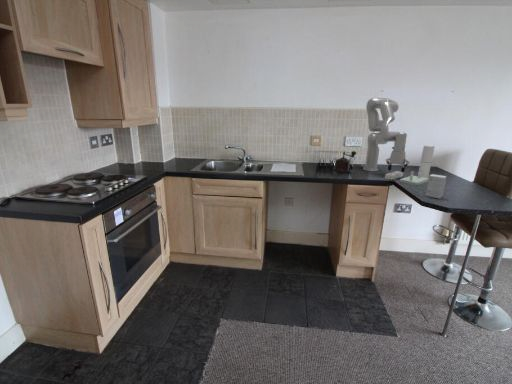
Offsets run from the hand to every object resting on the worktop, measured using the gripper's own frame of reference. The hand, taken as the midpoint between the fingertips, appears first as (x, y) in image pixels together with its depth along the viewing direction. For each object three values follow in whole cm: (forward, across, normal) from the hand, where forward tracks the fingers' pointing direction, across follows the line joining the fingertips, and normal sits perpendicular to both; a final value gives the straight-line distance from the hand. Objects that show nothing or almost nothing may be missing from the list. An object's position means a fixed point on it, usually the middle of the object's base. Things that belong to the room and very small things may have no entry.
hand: (395, 171), depth 218 cm
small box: (+7, +37, -30) cm, 48 cm away
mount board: (+6, +14, 0) cm, 15 cm away
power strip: (+5, -1, 0) cm, 5 cm away
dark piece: (+4, -37, -12) cm, 39 cm away
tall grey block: (+5, +13, +19) cm, 24 cm away
